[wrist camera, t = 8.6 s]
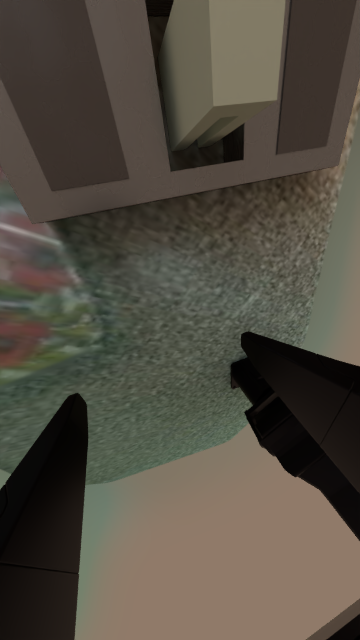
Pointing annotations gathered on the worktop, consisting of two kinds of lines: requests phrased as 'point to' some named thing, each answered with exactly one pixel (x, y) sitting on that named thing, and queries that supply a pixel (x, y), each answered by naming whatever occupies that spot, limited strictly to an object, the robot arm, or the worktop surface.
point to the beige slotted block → (218, 66)
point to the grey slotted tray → (154, 105)
